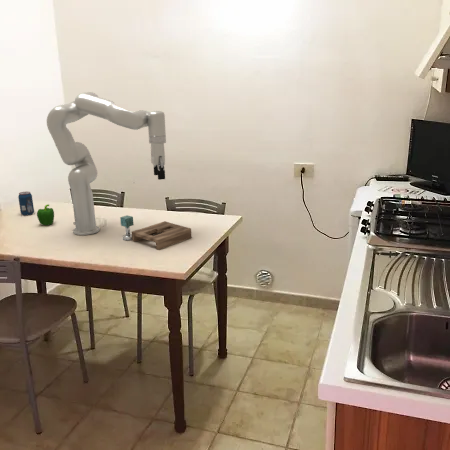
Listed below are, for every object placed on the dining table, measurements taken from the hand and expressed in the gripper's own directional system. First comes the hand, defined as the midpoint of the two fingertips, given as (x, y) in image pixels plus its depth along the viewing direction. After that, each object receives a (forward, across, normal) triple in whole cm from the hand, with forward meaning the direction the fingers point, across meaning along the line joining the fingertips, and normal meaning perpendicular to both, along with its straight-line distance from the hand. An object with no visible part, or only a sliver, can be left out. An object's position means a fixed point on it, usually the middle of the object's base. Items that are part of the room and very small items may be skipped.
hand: (159, 177), depth 231 cm
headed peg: (+27, +2, -16) cm, 32 cm away
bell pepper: (+28, -36, -52) cm, 69 cm away
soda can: (+28, -60, -63) cm, 91 cm away
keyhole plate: (+27, +9, -2) cm, 29 cm away
